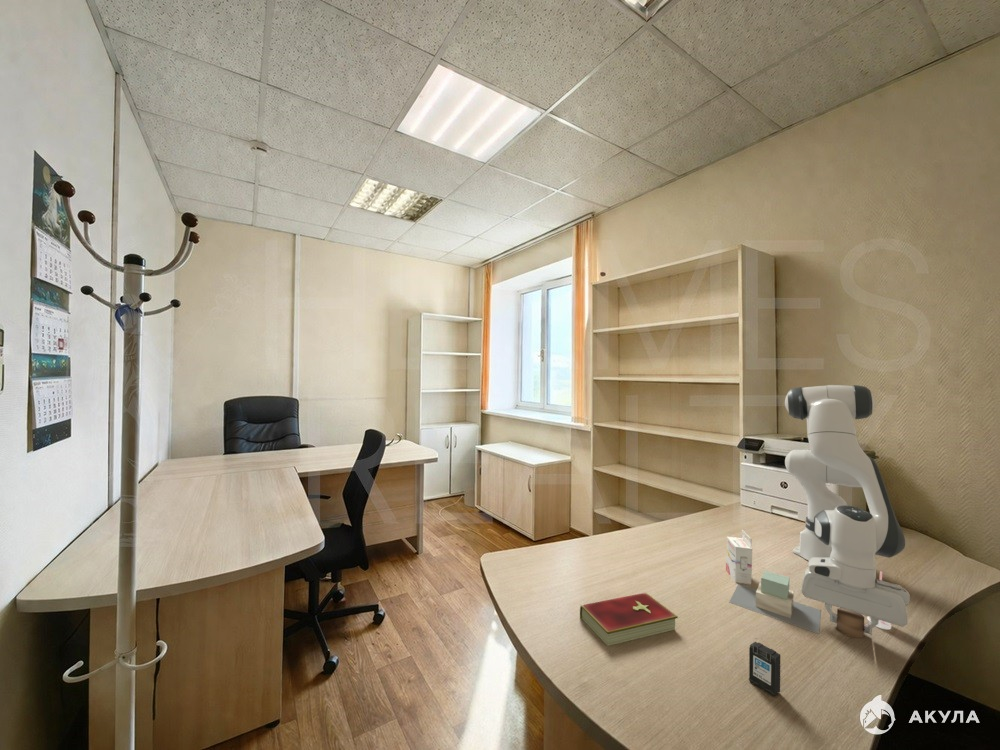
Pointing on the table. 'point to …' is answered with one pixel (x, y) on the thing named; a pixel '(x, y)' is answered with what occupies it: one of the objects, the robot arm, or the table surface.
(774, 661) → the ink cartridge
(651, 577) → the table surface
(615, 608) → the hardcover book
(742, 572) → the ink cartridge box
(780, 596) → the mint green block
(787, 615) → the base slab
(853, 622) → the brown rounded piece
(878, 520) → the robot arm
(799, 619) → the mat
